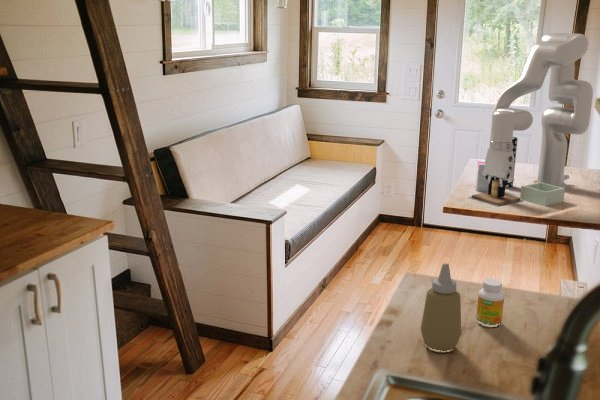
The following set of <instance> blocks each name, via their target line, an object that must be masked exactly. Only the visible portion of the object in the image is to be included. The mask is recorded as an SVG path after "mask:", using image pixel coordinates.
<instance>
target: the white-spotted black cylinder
mask: <svg viewBox="0 0 600 400" xmlns="http://www.w3.org/2000/svg"><path fill="white" fill-rule="evenodd" d="M518 139H519V138H518V137H516V136H513V138H512V145H514V148H513V149H511V150H512V151H513V153H514V170H515V168H516V167H515V166H516V160H517V159H516V158H517V147H518ZM514 176H515V174H514V175H513V177H514ZM514 178H515V177H514ZM495 179H497V180H499V178H497V177H496V178H495ZM507 179H508V177H507ZM503 182H504V180H503ZM513 186H514V181H512V182H510V183H509V184H508V185H507V186H505V189H508V188H512V187H513Z"/></svg>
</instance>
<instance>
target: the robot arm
mask: <svg viewBox="0 0 600 400" xmlns="http://www.w3.org/2000/svg"><path fill="white" fill-rule="evenodd" d="M589 43H590V42H589V39H588V37H587V36H586V35H584V34H582V33H570V32H569V33H567V32H550V33H545V34H544V35H543V36H542V37H541V39H540V42H539V43H536V44H534V45H533V46H532V47H531V49H530V50H529V52H528V55H527V58H526V60H525V63H524V65H523V67H522V69H521V72H520V74H519V78H517V80H516V81H514V83H512V84H510V86H508V87H507V88H506V89H504V91H503V92H502V93H501V94H500V95H499V97H498V99H497V101H496V103H495V106H494V107H493V111H492V114H491V115H492V116H491V127H490V140H489V147H488V148H487V152H486V157H485V159H484V160H485V161H484V162H485V168H484V170H483V172H482V174H483V175H484V176H485V178H486V179H487V183H488V184H489V186H488V194H489V195H491V189H492V180H495V178H496V177H497V178H499V181H500V186H498V193H497V197H504V195H505V194H506V188H505V186H507V185H508V184H509V183H510V182H512V181H513V182H514V181H515V177H513V175H514V176H515V169H514V153H513V151H512V150H511V149H513V148H514V145H512V138H513V137H514V136H513V135H514V131H515V132H516V131H520V132H524V131H526V130H528V129H529V128H531V126H532V125H533V119H534V118H533V115H532V113H531V112H530V111H529V110H525V109H520V108H513V107H511V105H512V103H513V102H514V101H516V100H517V99H518V98H521V97H522V96H525V95H528V94H531V93H534V92H536V91H538V90H541V88H542V87H543V84H544V81H545V79H546V76H547V74H548V73H549V69H550V75H549V76H550V77H549V86H548V100H549V101H550V102H551V103H554V104H561V105H567V106H573V108H570V107H561V106H551V107H547V108H546V109H544V111H543V113H542V114H541V130H542V131H541V133H542V134H541V135H542V136H541V145H540V155H539V163H538V173H537V179H536V180H533V181H532V184H534V183H539V182H541V183H545V184H549V185H553V186H557V187H562V188H565V189H567V183H565V182H564V181H566V180H569V179H570V175H569V174H565V167H566V161H567V160H566V158H567V151H568V140H567V137H566V135H565V134H570V135H577V136H578V135H583V134H584V133H586V132H587V130H588V128H589V126H590V125H589V124H590V121H591V120H590V119H591V113H592V104H593V96H594V95H593V94H594V92H593V86H592V84H591V82H589V81H586V80H581V79H575V71H576V70H575V69H576V66H575V62H576V61H578V60H579V59H581V58H582V57H583V56H585V54H586V53H587V51H588V49H589ZM507 177H508V179H507ZM503 180H504V182H503Z"/></svg>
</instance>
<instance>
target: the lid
mask: <svg viewBox="0 0 600 400" xmlns="http://www.w3.org/2000/svg"><path fill="white" fill-rule="evenodd" d="M498 186H500V181H499V180H497V179H495V180H492V189H491V195H489V194H488V192H481V193H477V194H472V195H471V197H472V198H474V199H477V200H481V201H484V202H487V203H491V204H494V205H497V206H498V205H503V204H507V203H512V202H516V201H520V200H521V199H520V197H517V196H514V195H510V194H507V193H505V195H504V197H497V193H498ZM474 199H473V200H474ZM477 200H476V201H477ZM484 202H483V203H484ZM487 203H486V204H487ZM494 205H493V206H494ZM497 206H496V207H497Z"/></svg>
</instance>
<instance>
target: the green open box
mask: <svg viewBox="0 0 600 400" xmlns="http://www.w3.org/2000/svg"><path fill="white" fill-rule="evenodd" d="M565 191H566V188H562V187H557V186H553V185H549V184H545V183H541V182H539V183H534V184H533V183H528V184H524V185H521V187H520V197H519V198H520V200H522V201H523V202H524V201H525V202H528V203H532V204H535V205H540V206H543V207H548V206H552V205H555V204H560V203H564V200H565Z"/></svg>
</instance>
